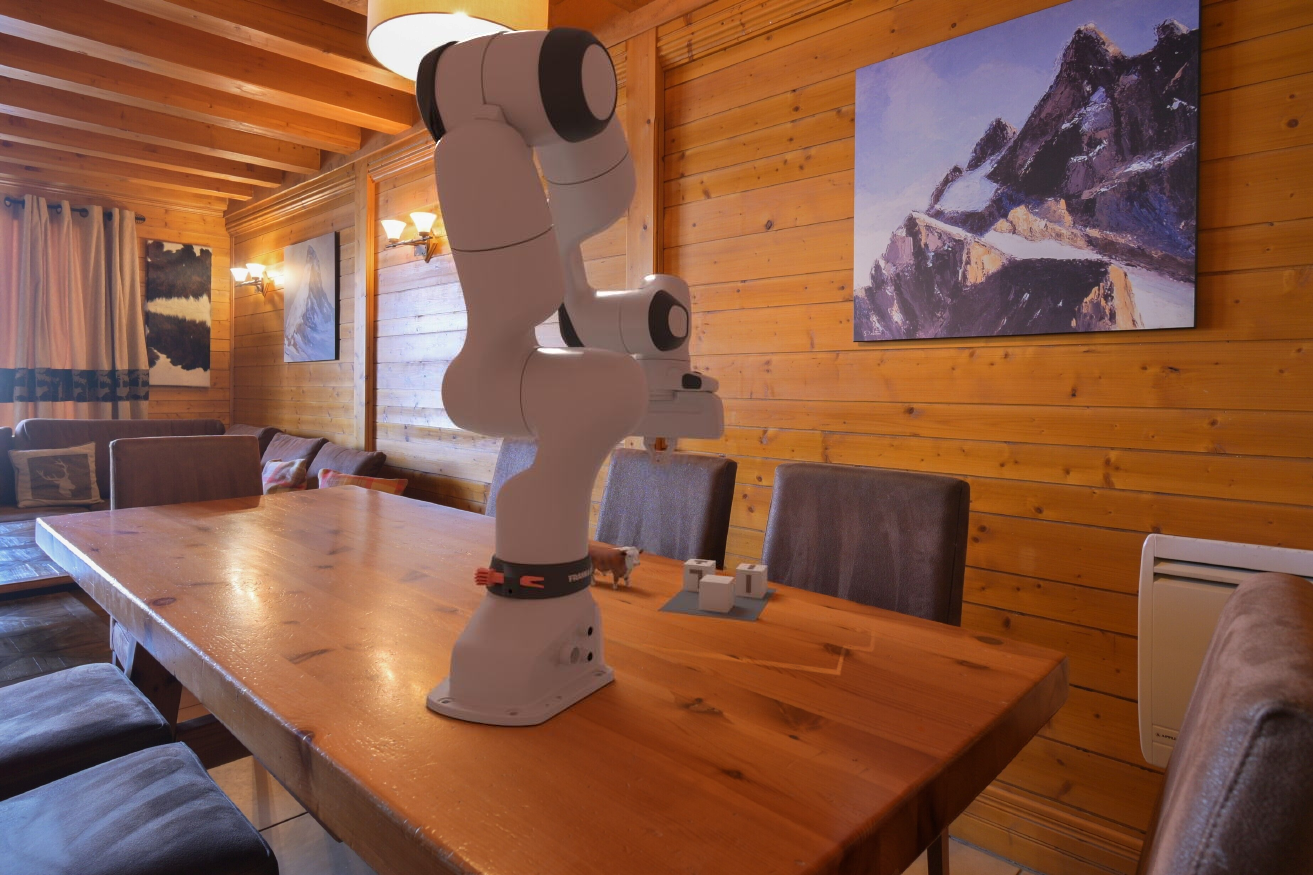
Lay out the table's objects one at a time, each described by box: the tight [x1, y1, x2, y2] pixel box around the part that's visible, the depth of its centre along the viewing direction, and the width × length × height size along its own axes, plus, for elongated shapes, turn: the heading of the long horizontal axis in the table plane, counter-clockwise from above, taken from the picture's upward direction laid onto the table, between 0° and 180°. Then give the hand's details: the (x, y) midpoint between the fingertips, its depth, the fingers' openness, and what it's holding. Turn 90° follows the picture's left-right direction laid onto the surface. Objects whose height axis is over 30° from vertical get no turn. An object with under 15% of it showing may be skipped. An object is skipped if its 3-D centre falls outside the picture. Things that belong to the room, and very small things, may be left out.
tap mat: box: [657, 583, 777, 623], centre depth 120 cm, size 20×15×1 cm
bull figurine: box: [588, 543, 644, 590], centre depth 127 cm, size 4×13×8 cm, turn 53°
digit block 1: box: [734, 562, 768, 599], centre depth 124 cm, size 5×4×5 cm
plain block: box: [699, 574, 735, 613], centre depth 115 cm, size 4×4×4 cm
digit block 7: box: [682, 558, 717, 592], centre depth 126 cm, size 5×4×5 cm
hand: (659, 466), depth 118 cm, fingers closed
